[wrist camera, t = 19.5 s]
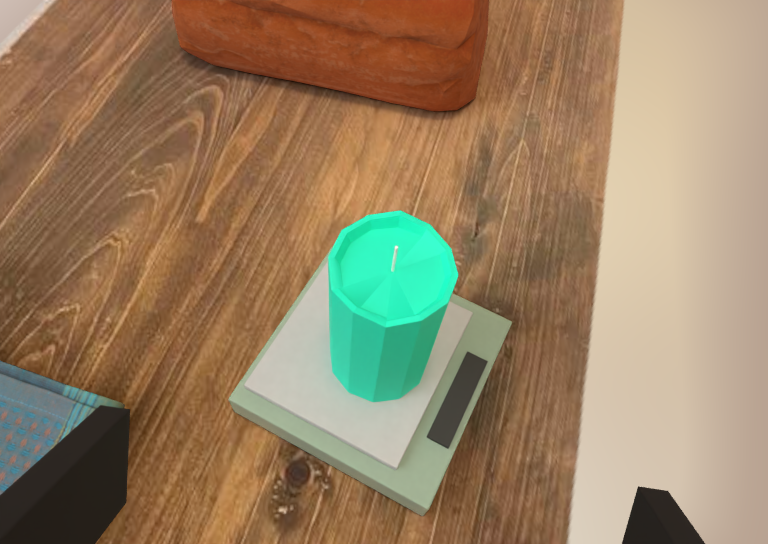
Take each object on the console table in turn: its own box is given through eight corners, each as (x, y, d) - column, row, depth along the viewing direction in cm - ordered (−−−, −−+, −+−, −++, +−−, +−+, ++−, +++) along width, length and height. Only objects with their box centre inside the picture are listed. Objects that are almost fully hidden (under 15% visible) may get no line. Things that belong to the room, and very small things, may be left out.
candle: (337, 304, 37) (338, 183, 27) (431, 317, 37) (468, 201, 27) (321, 395, 34) (315, 298, 24) (424, 409, 34) (462, 317, 24)
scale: (503, 336, 40) (515, 317, 38) (422, 516, 34) (430, 508, 32) (337, 256, 43) (337, 233, 40) (233, 411, 36) (225, 395, 34)
